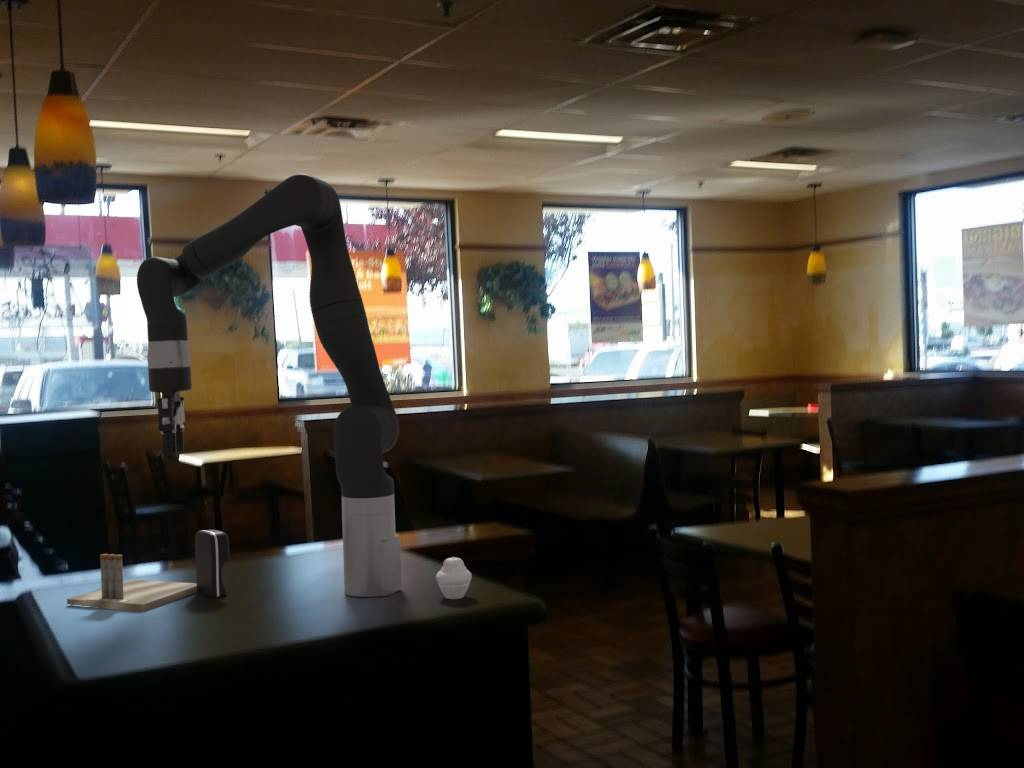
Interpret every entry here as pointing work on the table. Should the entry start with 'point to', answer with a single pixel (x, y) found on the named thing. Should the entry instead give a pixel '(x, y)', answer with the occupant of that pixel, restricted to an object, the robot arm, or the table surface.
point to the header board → (130, 590)
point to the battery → (211, 561)
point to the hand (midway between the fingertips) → (174, 453)
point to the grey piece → (453, 578)
